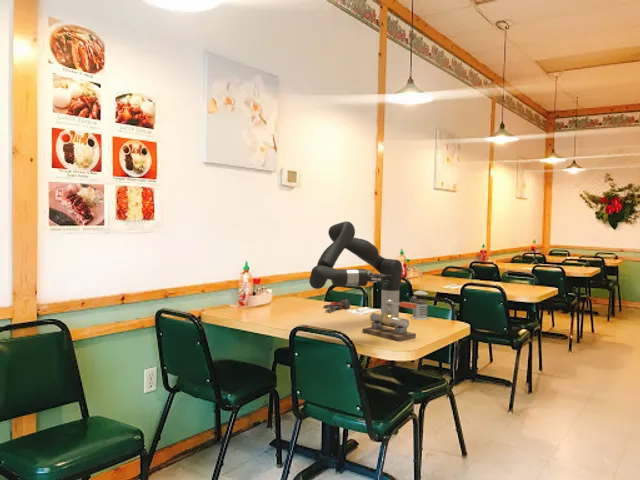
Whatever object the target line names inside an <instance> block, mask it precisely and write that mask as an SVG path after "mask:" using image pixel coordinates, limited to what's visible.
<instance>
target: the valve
mask: <svg viewBox="0 0 640 480" xmlns="http://www.w3.org/2000/svg"><path fill="white" fill-rule="evenodd" d="M350 302H351V301H350V299H349V298H346V299H345V300H341V301H332V302H331V303H329V304H326V305H323V308H324V309H326V310H325V312H326V313H330V312H333V311H334V310H337V311H339V310H341V309H343V308H345V309H346V310H349V309H350V308H351V303H350Z"/></svg>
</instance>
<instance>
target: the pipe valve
mask: <svg viewBox="0 0 640 480" xmlns="http://www.w3.org/2000/svg"><path fill="white" fill-rule="evenodd" d="M369 320H370V321H371V326H370V327H371V329H376V330H377V329H382V328H383V326H384V327H388V328H393V329H395V334H398V335H402V334H407V332H408V327H409V326H410V321H409V320H408V319H407V318H402V317H399V318H398V317H397V315H393V314H391V305H388V313H383V314H381V313H375V312H371V314H370V315H369Z"/></svg>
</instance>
